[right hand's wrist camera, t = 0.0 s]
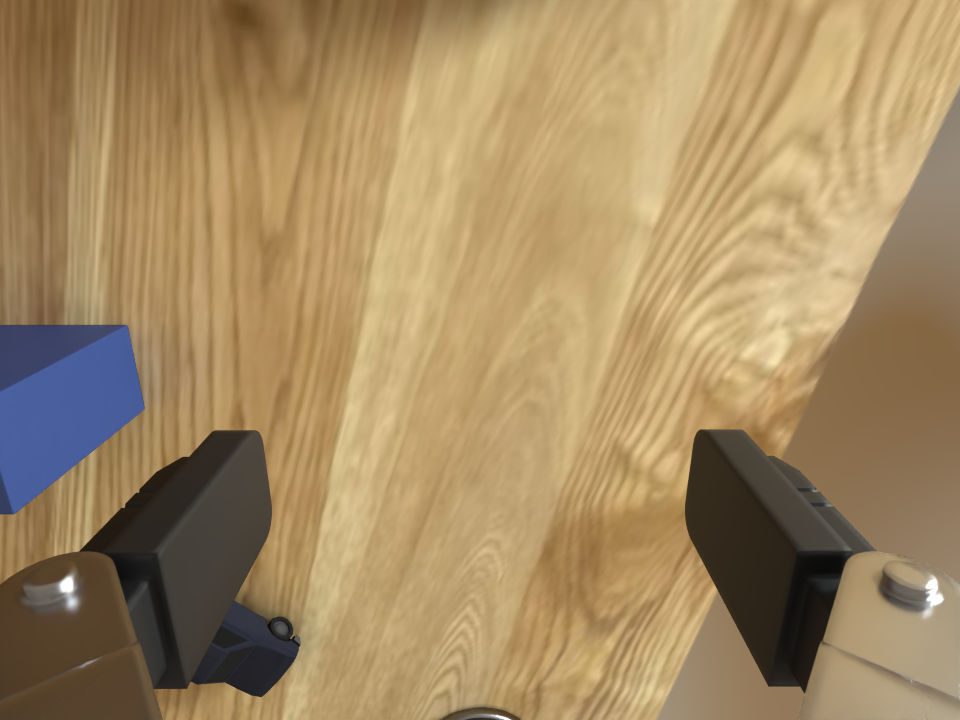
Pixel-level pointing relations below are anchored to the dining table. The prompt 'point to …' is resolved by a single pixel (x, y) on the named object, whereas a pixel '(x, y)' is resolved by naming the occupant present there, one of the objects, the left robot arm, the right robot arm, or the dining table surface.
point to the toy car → (248, 652)
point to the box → (59, 401)
